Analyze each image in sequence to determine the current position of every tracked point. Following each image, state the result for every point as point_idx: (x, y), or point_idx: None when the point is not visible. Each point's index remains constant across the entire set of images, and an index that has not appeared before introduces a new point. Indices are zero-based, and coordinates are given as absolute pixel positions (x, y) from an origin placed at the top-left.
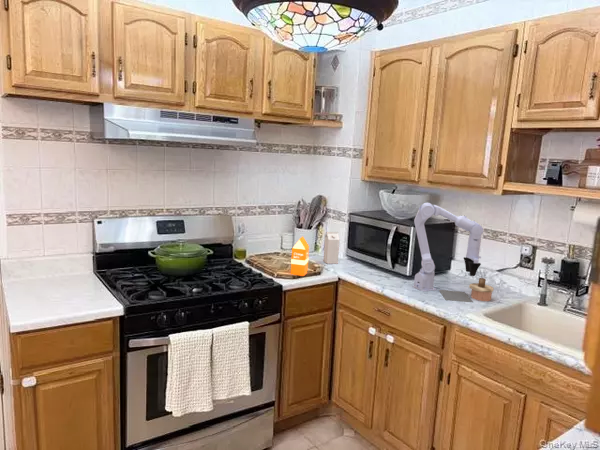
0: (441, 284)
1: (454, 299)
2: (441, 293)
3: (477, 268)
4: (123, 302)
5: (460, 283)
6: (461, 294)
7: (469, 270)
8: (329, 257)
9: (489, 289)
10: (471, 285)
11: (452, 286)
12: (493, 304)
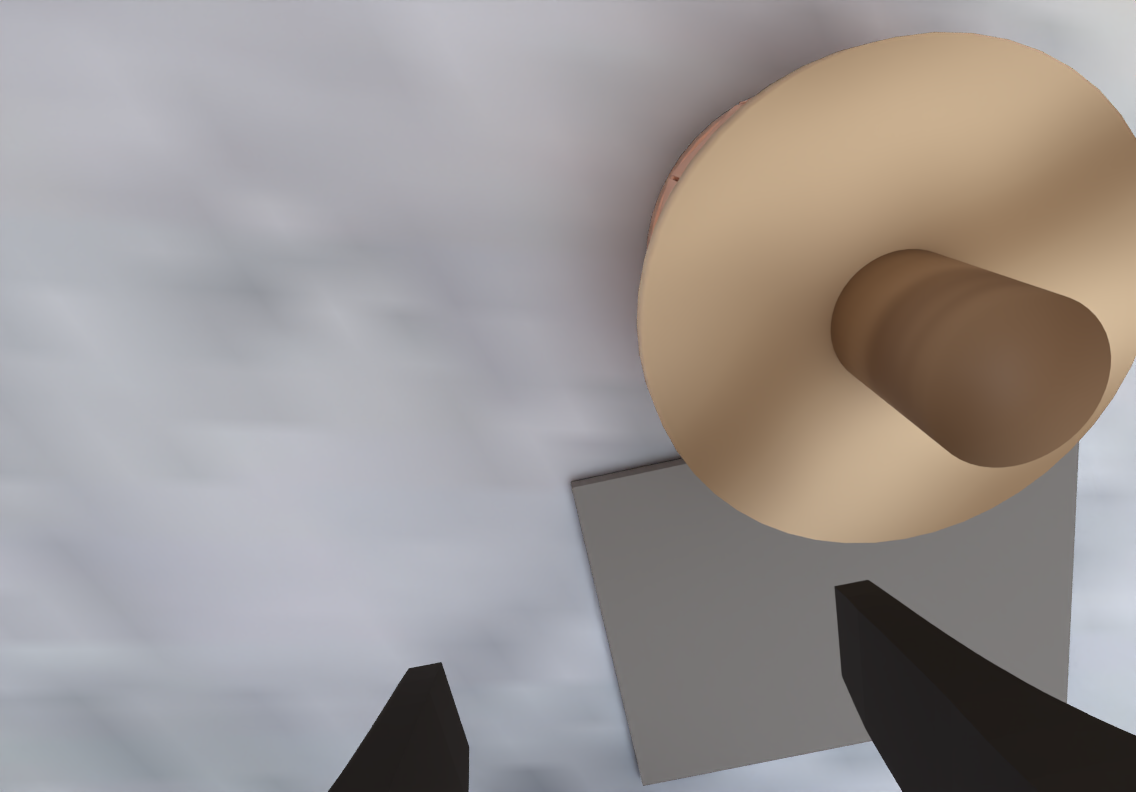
0: (315, 756)
1: (1014, 613)
2: (799, 750)
3: (1118, 738)
4: None
5: (52, 527)
6: (742, 531)
7: (444, 720)
8: None
9: (1080, 153)
10: (875, 509)
11: (326, 631)
12: (1066, 59)
